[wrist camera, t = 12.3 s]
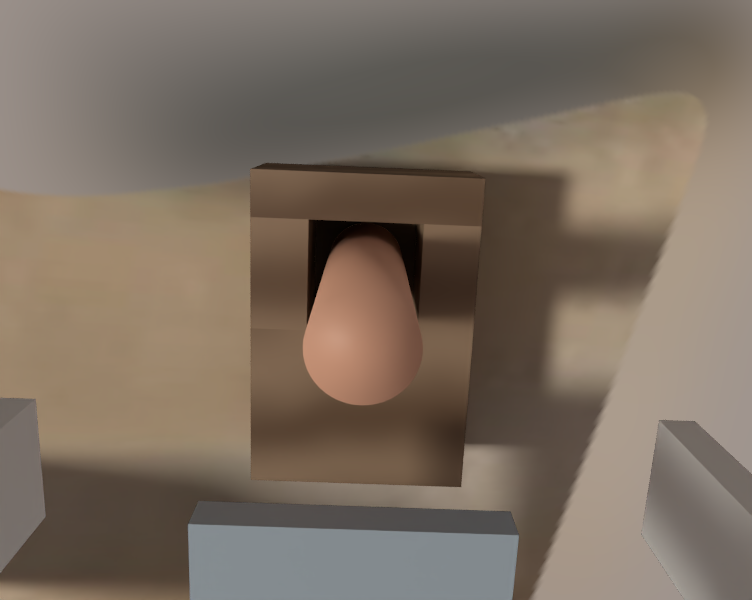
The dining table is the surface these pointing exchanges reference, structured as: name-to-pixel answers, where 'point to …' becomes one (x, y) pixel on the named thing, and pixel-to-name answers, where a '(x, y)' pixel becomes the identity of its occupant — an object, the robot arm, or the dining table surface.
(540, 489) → the dining table surface
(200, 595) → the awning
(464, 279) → the socket
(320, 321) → the peg
